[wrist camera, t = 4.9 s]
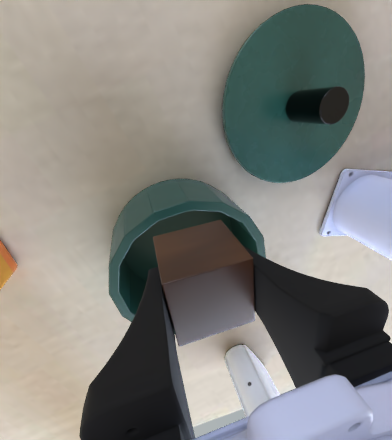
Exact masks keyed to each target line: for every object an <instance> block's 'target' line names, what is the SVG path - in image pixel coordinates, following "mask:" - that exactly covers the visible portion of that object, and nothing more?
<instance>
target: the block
mask: <svg viewBox="0 0 392 440" xmlns="http://www.w3.org/2000/svg"><path fill="white" fill-rule="evenodd" d="M153 242H154V247H155V252H156V258H157V263H158V268H159V273H160V279H161V284H162V288H163V291H164V295H165V299H166V302H167V306H168V309H169V313H170V317H171V320H172V324H173V327H174V331H175V335H176V338H177V342H178V345H179V346H183V345H186V344H189V343H192V342H194V341H197V340H200V339H203V338H206V337H209V336H212V335H215V334H218V333H221V332H224V331H227V330H230V329H232V328H235V327H238V326H241V325H244V324H247V323H250V322H253V321H255V302H254V269H253V257H252V256H251V255H250V254H249V253H248V251H247V250H246V249H245V248H244V247H243V245H242V244H241V243H240V242H239V241H238V239H237V238H236V237H235V236H234V235H233V234H232V232H231V231H230V230H229V229H228V228H227V226H226V225H225V224H224V223H223V222H222V220H217V221H213V222H209V223H205V224H201V225H197V226H193V227H189V228H185V229H181V230H177V231H173V232H170V233H166V234H162V235H158V236H154V237H153Z"/></svg>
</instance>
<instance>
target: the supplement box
mask: <svg viewBox="0 0 392 440" xmlns="http://www.w3.org/2000/svg"><path fill="white" fill-rule="evenodd" d="M17 266H18V265H17V263H16V262H15V261H14V259H13V258H12V257H11V255H10V253H9V252H8V250H7V249H6V248H5V246H4V245H3V243H2V242H1V240H0V290H1V288H2V287H3V286H4V284H5V283H6V282H7V280H8V279H9V278H10V276H11V275H12V274H13V272H14V271H15V270H16V269H17Z"/></svg>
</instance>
